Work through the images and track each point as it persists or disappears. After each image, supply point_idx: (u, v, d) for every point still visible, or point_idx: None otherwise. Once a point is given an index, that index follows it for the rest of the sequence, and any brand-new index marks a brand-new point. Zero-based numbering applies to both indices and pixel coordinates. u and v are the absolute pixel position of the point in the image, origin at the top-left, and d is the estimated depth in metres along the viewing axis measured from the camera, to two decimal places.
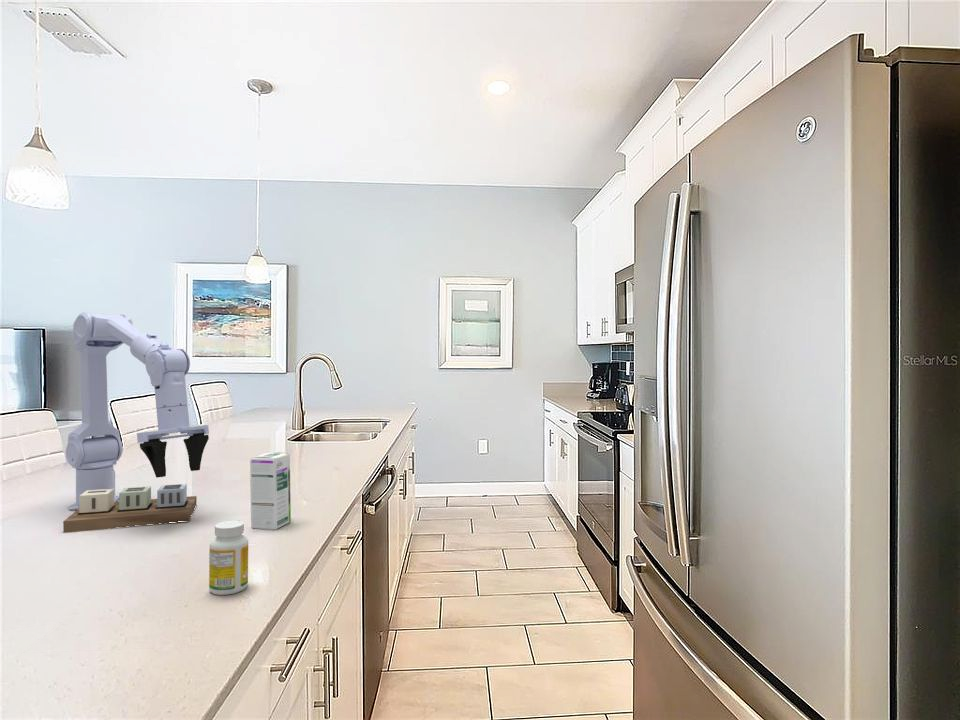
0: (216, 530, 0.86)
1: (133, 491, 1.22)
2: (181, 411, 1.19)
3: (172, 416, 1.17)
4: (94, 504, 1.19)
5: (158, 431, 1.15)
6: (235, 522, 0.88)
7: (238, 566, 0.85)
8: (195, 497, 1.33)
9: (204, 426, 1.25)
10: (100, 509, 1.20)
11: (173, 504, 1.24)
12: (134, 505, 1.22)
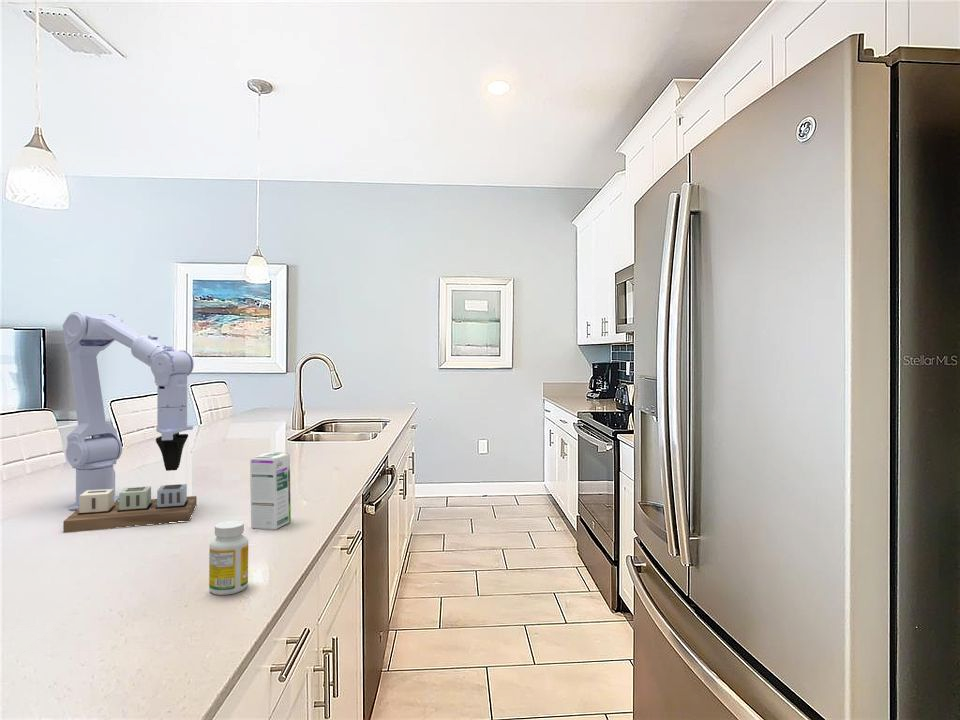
0: (216, 530, 0.86)
1: (133, 491, 1.22)
2: (186, 410, 1.27)
3: (183, 416, 1.26)
4: (94, 504, 1.19)
5: (177, 430, 1.23)
6: (235, 522, 0.88)
7: (238, 566, 0.85)
8: (195, 497, 1.33)
9: None
10: (100, 509, 1.20)
11: (173, 504, 1.24)
12: (134, 505, 1.22)
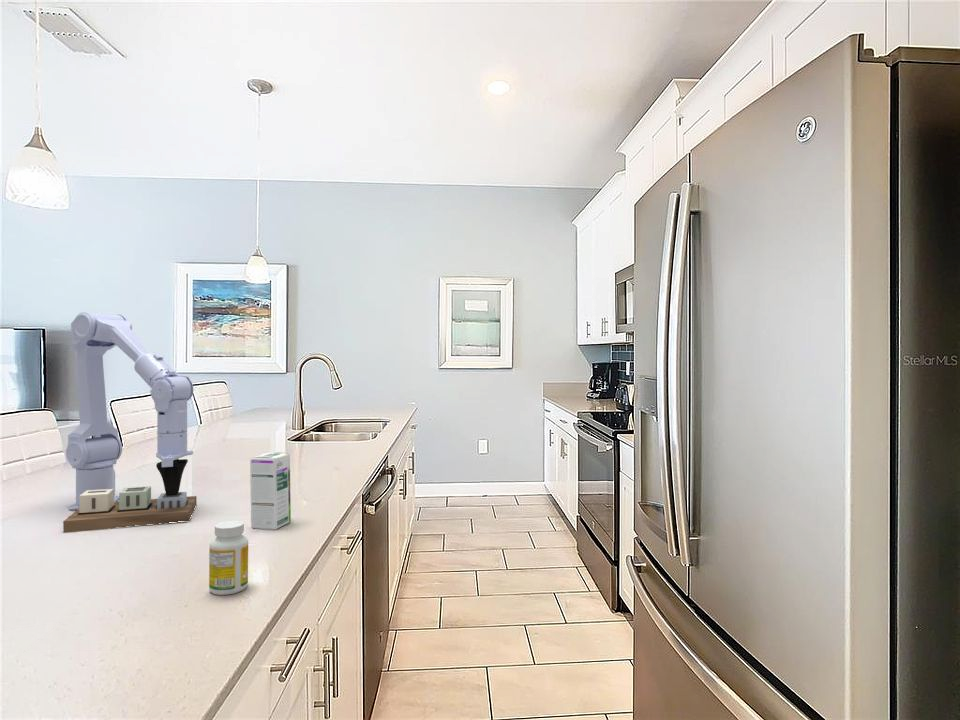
0: (216, 530, 0.86)
1: (133, 491, 1.22)
2: (186, 436, 1.27)
3: (183, 441, 1.26)
4: (94, 504, 1.19)
5: (177, 456, 1.23)
6: (235, 522, 0.88)
7: (238, 566, 0.85)
8: (195, 497, 1.33)
9: None
10: (100, 509, 1.20)
11: None
12: (134, 505, 1.22)
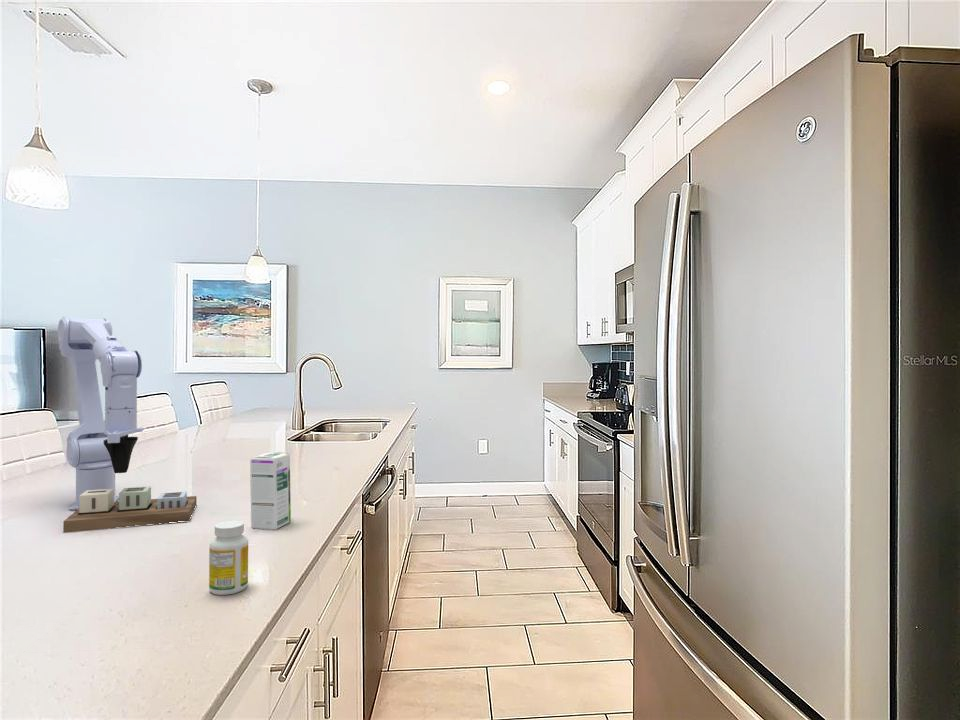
0: (216, 530, 0.86)
1: (133, 491, 1.22)
2: (135, 412, 1.24)
3: (131, 418, 1.22)
4: (94, 504, 1.19)
5: (125, 432, 1.20)
6: (235, 522, 0.88)
7: (238, 566, 0.85)
8: (195, 497, 1.33)
9: None
10: (100, 509, 1.20)
11: None
12: (134, 505, 1.22)
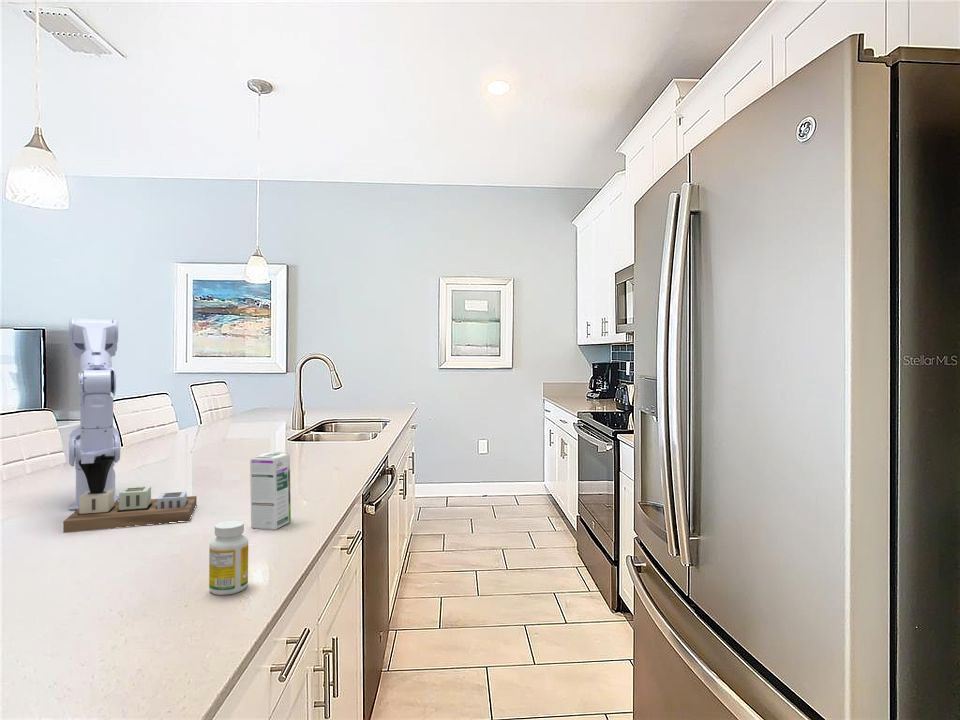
0: (216, 530, 0.86)
1: (133, 491, 1.22)
2: (112, 431, 1.23)
3: (107, 437, 1.21)
4: (94, 505, 1.19)
5: (100, 452, 1.18)
6: (235, 522, 0.88)
7: (238, 566, 0.85)
8: (195, 497, 1.33)
9: None
10: (100, 510, 1.20)
11: None
12: (134, 505, 1.22)
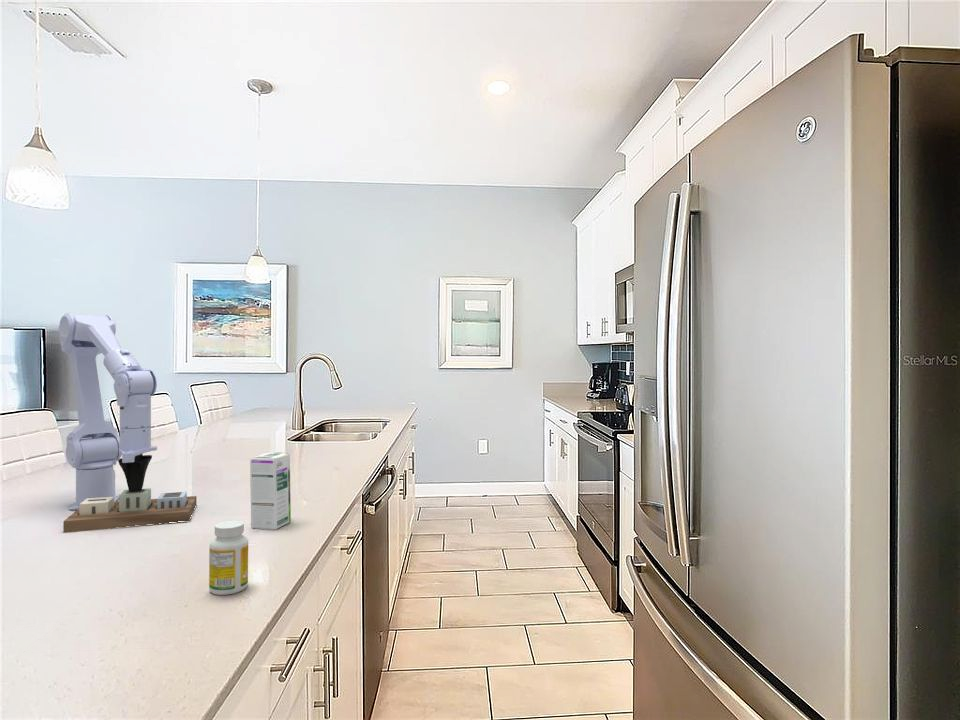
0: (216, 530, 0.86)
1: (133, 493, 1.22)
2: (149, 431, 1.25)
3: (146, 437, 1.23)
4: (94, 512, 1.19)
5: (139, 451, 1.20)
6: (235, 522, 0.88)
7: (238, 566, 0.85)
8: (195, 497, 1.33)
9: None
10: None
11: None
12: (134, 507, 1.22)
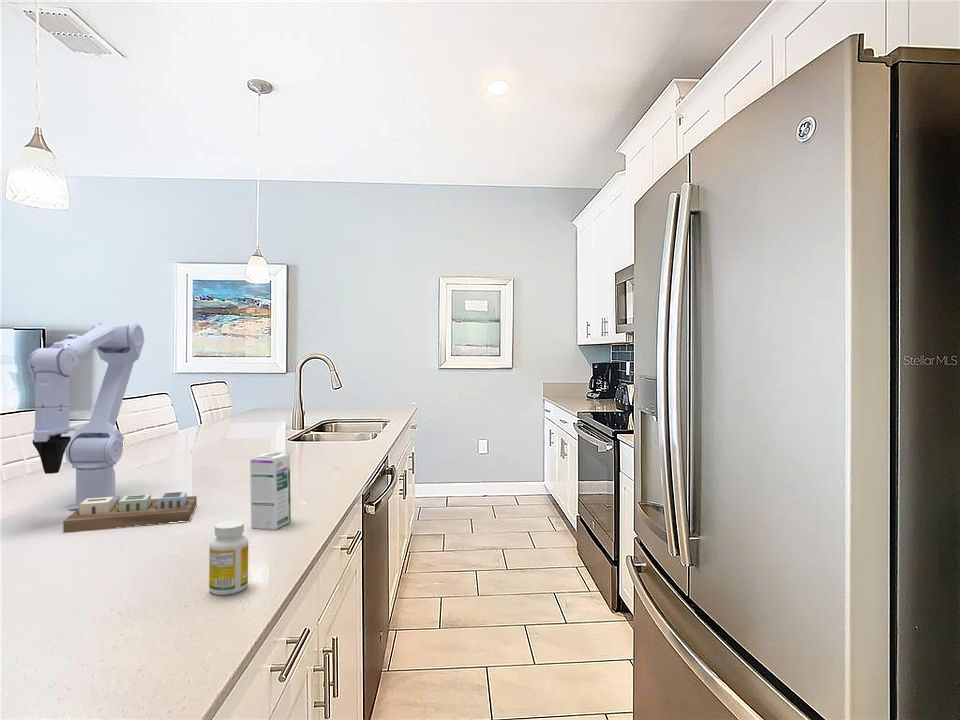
0: (216, 530, 0.86)
1: (133, 499, 1.22)
2: (68, 411, 1.21)
3: (63, 416, 1.19)
4: (94, 512, 1.19)
5: (54, 431, 1.16)
6: (235, 522, 0.88)
7: (238, 566, 0.85)
8: (195, 497, 1.33)
9: None
10: None
11: None
12: None
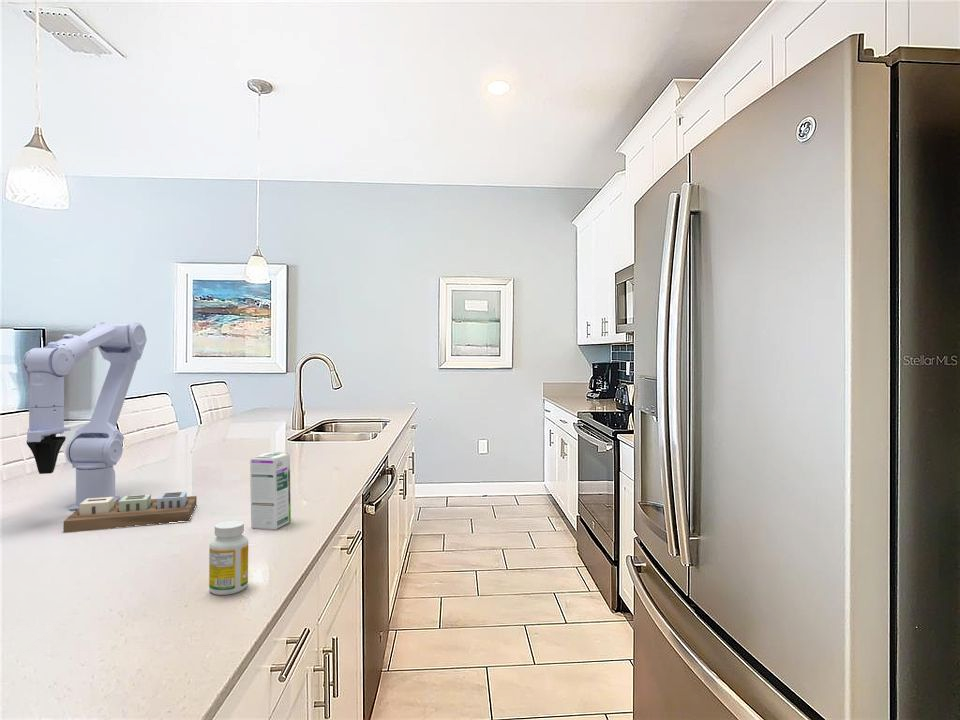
0: (216, 530, 0.86)
1: (133, 499, 1.22)
2: (62, 411, 1.20)
3: (57, 416, 1.18)
4: (94, 512, 1.19)
5: (48, 431, 1.16)
6: (235, 522, 0.88)
7: (238, 566, 0.85)
8: (195, 497, 1.33)
9: None
10: None
11: None
12: None
